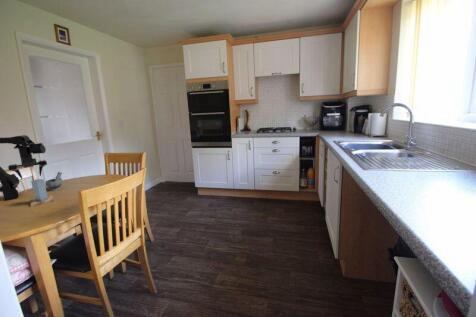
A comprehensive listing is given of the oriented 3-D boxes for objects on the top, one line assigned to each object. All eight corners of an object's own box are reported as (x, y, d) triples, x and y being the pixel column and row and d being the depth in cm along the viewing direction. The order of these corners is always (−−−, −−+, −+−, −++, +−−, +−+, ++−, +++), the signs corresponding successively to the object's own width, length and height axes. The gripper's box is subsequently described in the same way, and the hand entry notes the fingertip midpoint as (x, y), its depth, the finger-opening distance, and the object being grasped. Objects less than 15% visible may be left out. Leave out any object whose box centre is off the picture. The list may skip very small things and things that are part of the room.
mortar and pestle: (52, 192, 161) (49, 175, 159) (44, 190, 165) (40, 174, 162) (68, 187, 172) (65, 171, 169) (60, 185, 175) (57, 170, 172)
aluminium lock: (41, 201, 141) (36, 181, 138) (35, 200, 143) (30, 180, 140) (48, 199, 145) (43, 179, 142) (42, 198, 146) (37, 179, 144)
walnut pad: (30, 206, 137) (30, 204, 136) (30, 202, 144) (30, 200, 144) (54, 201, 144) (53, 199, 144) (52, 197, 151) (52, 195, 151)
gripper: (5, 158, 137) (11, 183, 140) (45, 153, 149) (50, 176, 153) (6, 156, 145) (12, 179, 148) (43, 151, 157) (48, 173, 161)
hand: (31, 177), depth 152 cm, fingers open, 9 cm apart
